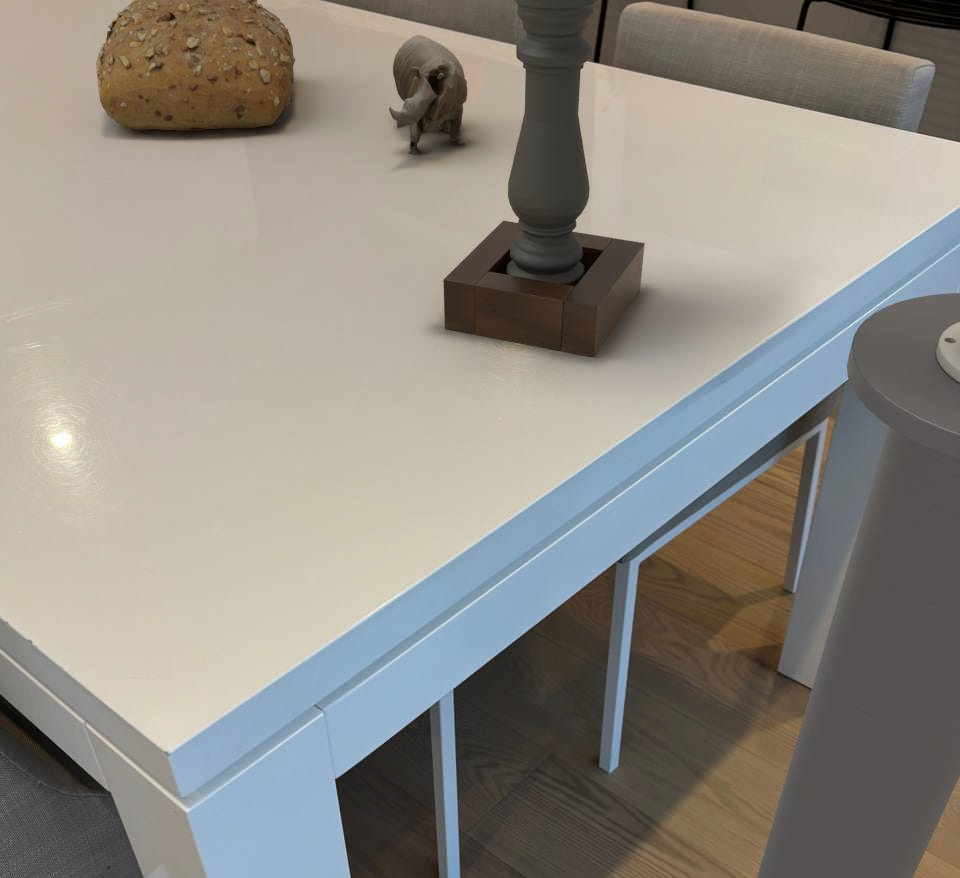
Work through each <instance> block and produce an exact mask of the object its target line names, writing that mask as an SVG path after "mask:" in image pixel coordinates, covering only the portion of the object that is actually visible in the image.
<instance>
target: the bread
mask: <svg viewBox="0 0 960 878" xmlns="http://www.w3.org/2000/svg"><path fill="white" fill-rule="evenodd" d="M116 15H117V17H116V18H115V19H113V20H112V21H111V22H110V23H109V25H107V28H108V29H109V30H108V31H107V33H106V38H105V42H104V43H102V44H101V47H100V49H99V52H98V54H97V55H98V56H97V58H96V62H95V69H96V77H97V87H98V95H99V101H100V104H101V106H102V108H103V110H104V111H105V113H106V114H107V116H108V117H110V118H111V120H113V122H115V123H117V124H118V125H120V126H122V127H124V128H127V129H131V130H137V131H138V130H139V131H141V130H145V131H147V130H161V131H162V130H163V131H188V132H189V131H190V132H191V131H195V132H197V131H201V130H218V129H236V128H237V129H238V128H239V129H255V128H260V127H267V126H272V125H274V123H276V121H277V119H278V118H279V117H280V116H281V114H282V112H283V111H284V109H285V108H286V107H287V106H288V105H289V104H291V103H292V101H291V100H290V99H291V98H292V93H293V88H294V83H295V81H294V79H295V78H294V77H295V73H294V65H295V62H296V58H295V56H294V47H293V42H292V38H291V35H290V32H289V29H288V28H286V25H285V24H284V23H283V22H282V21H281V19H280V17H278V16H277V15H276V14H275V13H273V12H271V11H269V10H268V9H267V8H266V7H264V6H263V5H262V4H261V3H258V0H132V1H130V3H129V4H128V5H126V6H125V7H124V8H123V10H121V11H119V12H116Z"/></svg>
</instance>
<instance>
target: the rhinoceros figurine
mask: <svg viewBox="0 0 960 878" xmlns="http://www.w3.org/2000/svg"><path fill="white" fill-rule="evenodd" d="M393 59H394V60H393V64H392V75H393V79H394V83H395V89H396V91H397V95H398V96H399V98H400V100H402V101H403V106H402V108H401V110H394V109H393V108H392V106H389V107H388V111H389V113H390V116H391V118H392V119H393V120H395V121H396V128H397V129H402V128H405V127H407V126H409V133H410V141H409V149H410V151H408V150H407V152H408V153H410V154H412V155H418V156H419V155H422V154H423V151H421V150H420V149H419V148H418V144H419V142H420V141H421V137H422V135H424V134H427V133H429V132H433V131H434V130H436V129H437V128H439V129H437V132H438V131H440V129H441V130H443V131H444V132H445V133H449V139H450V140H451V141H452V140H453V141H455V142H453V144H454V145H461V144H467V142H466V140H465V137H464V136H463V135H462V133H461V127H462V120H463V115H464V104H465V102H467V99H468V84H467V83H468V80H467V79H466V76H465V72H464V71H465V70H464V68H463V66H462V64H461V63H460V61H459V59H458V58H457V57H456V55H455V54H454V52H452V51H451V50H449V48H447V47H446V46H444V45H443V44H441V43H440V42H438V41H435V40H433V39H431V38H429V37H427V36H424V35H421V34H415V35H413V36H412V37H410V38H409V39H407V40H406V41H405V42H403V44H402V46H400V47H399V48H398V51H397V52H396V54H395V56H394V58H393Z"/></svg>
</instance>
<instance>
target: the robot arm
mask: <svg viewBox="0 0 960 878" xmlns="http://www.w3.org/2000/svg"><path fill="white" fill-rule="evenodd" d="M936 355H937V359H938V361H939V363H940V365H941V367H942V368H943V369H944V370H945V371H946V372H947V374H948V375H950V376H951V377H952V378H954V379H955V380H956V381H957V382H959V383H960V322H958V323H956V324H954V325H952V326H950V327H949V328H947V329H946V330H945V331H944V332H943V333H942V335H941V337H940V339H939V342H938V346H937V349H936Z"/></svg>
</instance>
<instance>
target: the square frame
mask: <svg viewBox="0 0 960 878" xmlns="http://www.w3.org/2000/svg"><path fill="white" fill-rule="evenodd" d="M521 231H522V230H521V229H520V228H519V226H518V222H514V221H509V220H502V221H501V222H500V223H499V224H498V225H497V226H496V227H495V228H494V229H493V230H492V231H491V232H490V233H489V234H487V236H486V237H485V238H484V239H483V240H482V241H481V242H479V244H478V245H477V246H476V247H475V248H474V249H472V251H470V252H469V254H467V255H466V257H465V258H463V259H462V260H461V262H460V263H458V264H457V265H456V266H455V267H454V268H453V269H452V270H451V271H450V272H449V273H448V275H446V276H445V277H444V278H443V279H442V280H443V281H442V283H443V312H444V313H443V316H444V329H446V330H453V331H455V332H457V331H458V332H462V333H467V334H472V335H477V336H481V337H488V338H493V339H498V340H502V341H507V342H508V341H509V342H514V343H519V344H523V345H529V346H535V347H540V348H544V349H549V350H555V351H560V352H566V353H570V354H576V355H580V356H586V357H593V358H594V357H595V356H596V354H597V352H598V351H599V350H600V348H601V347H602V345H603V344H604V342H605V341H606V340H607V338H608V337H609V335H610V334H611V333H612V331H613V330H614V328H615V327H616V326H617V324H618V323H619V321H620V320H621V318H622V317H623V316H624V314H625V313H626V312H627V310H628V308H629V306H630V305H631V304H632V302H633V301H634V300H635V298H636V297H637V295H638V294H639V292H640V291H641V284H642V272H643V265H644V254H645V242H639V241H635V240H628V239H623V238H622V239H621V238H616V237H615V238H614V237H610V236H603V235H596V234H590V233H584V232H578V231H572V232H573V233H574V234H575V236H576V237H577V241H578V242H579V243H580V244H581V245H582V250H583V257H582V259H581V260H580V262H581V263H582V264H583V265H584V269H585V275H584V276H583V277H582V279H581V280H580V281H579V282H578V284H577V285H576V286H575V287H574V286H569V285H563V284H557V283H551V282H546V281H540V280H534V279H528V278H523V277H517V276H511V275H507V264H508V263H509V262H510V261H511V260H512V259H511V257H510V246H511V244H512V243H513V242H514V241H515V240H516V237H517V236H518V235H519V233H520V232H521Z"/></svg>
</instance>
